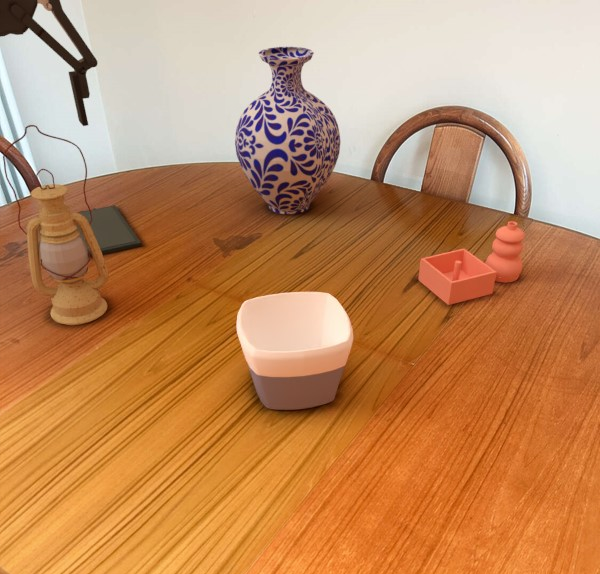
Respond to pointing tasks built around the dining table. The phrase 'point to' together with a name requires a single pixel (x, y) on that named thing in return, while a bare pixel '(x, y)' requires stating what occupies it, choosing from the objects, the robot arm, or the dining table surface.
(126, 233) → the placemat
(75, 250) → the lantern
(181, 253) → the dining table surface
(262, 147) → the vase
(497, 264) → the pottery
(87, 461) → the dining table surface
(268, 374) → the bowl
